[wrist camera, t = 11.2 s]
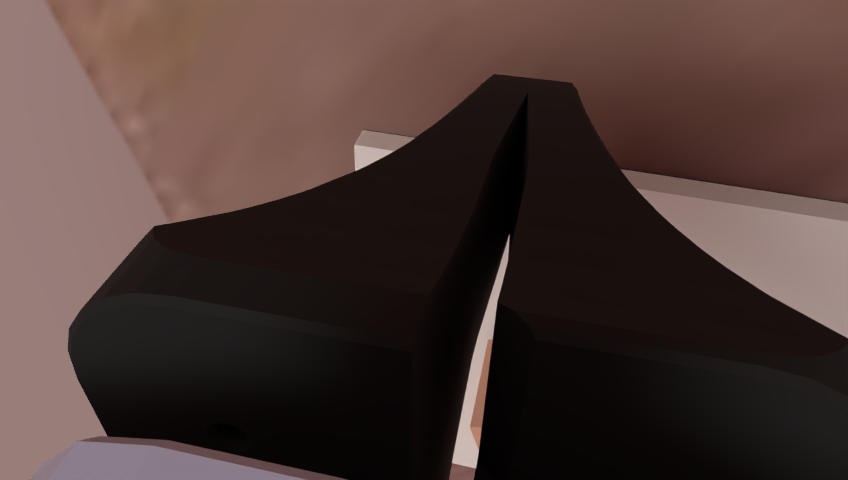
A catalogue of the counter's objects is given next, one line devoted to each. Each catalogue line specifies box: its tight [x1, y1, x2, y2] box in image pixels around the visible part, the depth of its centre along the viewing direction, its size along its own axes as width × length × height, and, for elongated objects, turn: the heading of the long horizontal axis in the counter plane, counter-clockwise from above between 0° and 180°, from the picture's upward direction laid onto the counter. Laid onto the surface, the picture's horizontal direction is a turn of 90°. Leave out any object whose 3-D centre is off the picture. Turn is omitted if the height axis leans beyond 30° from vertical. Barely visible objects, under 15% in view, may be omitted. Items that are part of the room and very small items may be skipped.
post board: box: [354, 130, 848, 468], centre depth 25 cm, size 18×18×6 cm
